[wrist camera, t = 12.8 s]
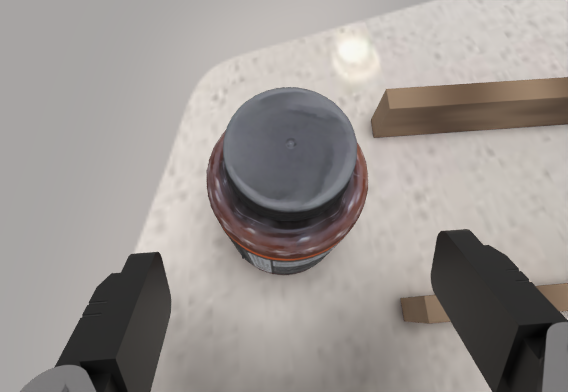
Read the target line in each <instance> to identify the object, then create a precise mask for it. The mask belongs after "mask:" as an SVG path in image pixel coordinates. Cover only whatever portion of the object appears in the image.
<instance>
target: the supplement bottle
mask: <svg viewBox="0 0 568 392" xmlns="http://www.w3.org/2000/svg"><path fill="white" fill-rule="evenodd" d="M207 190H208V197H209V200H210V204H211V207H212V209H213V212H214V214H215V216H216V218H217V219H218V221H219V223H220V224H221V226H222V228H223V230H224V231H225V233H226V234H227V235H228V236H229V238H230V239H231V241H232V242H233V243H234V245H235V246H236V248H237V249H238V251H239V252H240V254H241V255H242V258H243V259H244V258H245V259H246V260H247V261H248V262H249V263H251V264H252V265H254V266H256V267H257V268H259V269H261V270H263V271H266V272H269V273H272V274H278V275H289V274H295V273H300V272H303V271H305V270H307V269H309V268H311V267H313V266H315V265H316V264H317V263H318V262H320V261H321V260H322V259H323V258H324V257H325V256H326V255H327V254H328V253H329V252H330V251H331V250H332V249H333V248H334V247H335V246H336V245H337V244H338V243H339V242H340V241H341V240H342V239H343V238H344V237H345V236H346V235H347V233H348V232H349V231H350V230H351V229H352V227H353V226H354V224H355V223H356V221H357V220H358V218H359V216H360V214H361V212H362V209H363V207H364V204H365V200H366V196H367V191H368V172H367V166H366V161H365V158H364V155H363V153H362V150H361V148H360V146H359V144H358V143H357V140H356V137H355V133H354V130H353V127H352V125H351V123H350V121H349V119H348V118H347V116H346V115H345V114H344V113H343V111H342V110H341V109H340V108H339V107H338V106H337V105H336V104H335V103H334V102H332V101H331V100H329V99H328V98H326V97H324V96H323V95H321V94H319V93H316V92H314V91H311V90H307V89H302V88H296V87H293V88H291V87H286V88H284V87H283V88H276V89H272V90H268V91H265V92H263V93H260V94H258V95H256V96H254V97H253V98H251V99H250V100H248V101H246V102H245V103H244V104H243V105H242V106H241V107H240V108H239V109H238V110H237V111H236V113H235V114H234V115H233V117H232V118H231V120H230V122H229V124H228V126H227V129H226V130H225V132H224V133H223V134H222V136H221V137H220V139H219V140H218V142H217V143H216V145H215V147H214V148H213V151H212V154H211V156H210V159H209V164H208V169H207Z"/></svg>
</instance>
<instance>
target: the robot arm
mask: <svg viewBox="0 0 568 392" xmlns="http://www.w3.org/2000/svg"><path fill="white" fill-rule="evenodd" d="M431 284H432V288H433V291H434V293H435V295H436V297H437V299H438V300H439V302H440V304H441V306H442V307H443V309H444V311H445V312H446V314H447V316H448V317H449V319H450V321H451V322H452V324H453V326H454V328H455V329H456V331H457V333H458V334H459V336H460V338H461V339H462V341H463V343H464V345H465V346H466V348H467V350H468V351H469V353H470V355H471V356H472V358H473V360H474V361H475V363H476V365H477V367H478V368H479V370H480V372H481V373H482V375H483V377H484V378H485V380H486V382H487V383H488V385H489V387H490V389H491V390H492V392H568V320H567V319H566V318H565V317H564V316H563V315H562V314H561V313H560V312H559V311H558V310H557V309H556V308H555V306H554V305H553V304H552V303H551V302H550V301H549V300H548V299H547V298H546V297H545V296H544V295H543V294H542V293H541V292H540V291H539V290H538V288H537V287H536V286H535V285H534V284H533V283H532V282H529V279H528V278H527V277H526V276H525V275H524V274H523V273H522V272H521V271H519V268H518V267H517V266H516V265H515V264H514V263H513V262H512V261H511V260H510V259H509V258H508V257H507V256H506V255H505V254H503V253H501V252H500V251H498V250H496V249H495V248H493V247H491V246H490V245H483V244H482V243H481V242H480V241H479V240H478V238H477V237H476V236H475V235H474V234H473V233H472V232H471V231H470V230H468V229H464V230H450V231H441V232H440V233H439V234H438V236H437V241H436V247H435V253H434V258H433V264H432V270H431ZM170 313H171V294H170V290H169V286H168V282H167V278H166V273H165V269H164V265H163V261H162V257H161V255H160V253H159V252H150V253H137V254H131V255H130V256H129V257H128V259H127V261H126V263H125V265H124V268H123V270H122V272H121V273H112V274H110V275H109V276H108V277H107V278H106V279H105V280H104V281H103V282H102V283H101V284H100V285H99V286H98V287H97V288H96V290H95V292H94V294H93V295H92V297H91V299H90V301H89V305H87V307H86V309H85V311H84V312H83V317H82V318H80V320H79V322H78V324H77V326H76V328H75V330H74V331H73V333H72V335H71V337H70V339H69V341H68V343H67V345H66V346H65V348H64V350H63V352H62V354H61V356H60V358H59V360H58V362H57V364H56V365H55V367H54V368H52V369H49V370H47V371H45V372H43V373H41V374H40V375H38V376H37V377H35V378H34V379H32V380H31V381H30V382H29V383H28V384H27V385H26V386H25V387H24V388H23V389H22V390H21V391H20V392H150V391H151V387H152V383H153V379H154V376H155V372H156V368H157V364H158V360H159V356H160V352H161V349H162V345H163V341H164V337H165V333H166V329H167V325H168V322H169V318H170Z"/></svg>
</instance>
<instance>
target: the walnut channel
mask: <svg viewBox="0 0 568 392" xmlns="http://www.w3.org/2000/svg"><path fill="white" fill-rule="evenodd" d="M371 124H372V130H373V136H374V138H376V137H390V136H404V135H418V134H432V133H447V132H461V131H475V130H489V129H503V128H518V127H532V126H546V125H560V124H568V77H564V78H549V79H534V80H518V81H503V82H488V83H472V84H457V85H442V86H426V87H411V88H396V89H386V91H385V93H384V95H383V97H382V99H381V101H380V103H379V105H378V107H377V109H376V111H375V113H374V115H373V117H372V119H371ZM536 287H537V288H538V290H539V291H540V292H541V293H542V294H543V295H544V296H545V297H546V298H547V299H548V300H549V301H550V302H551V303H552V304H553V305H554V306H555V308H556V309H557V310H558V311H568V283H564V284H553V285H541V286H536ZM401 304H402V310H403V316H404V321H406V322H418V323H439V322H450V319H449V317H448V316H447V314H446V312H445V311H444V309H443V307H442V306H441V304H440V302H439V300H438V299H437V297H436V295H429V296H418V297H408V298H401Z"/></svg>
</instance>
